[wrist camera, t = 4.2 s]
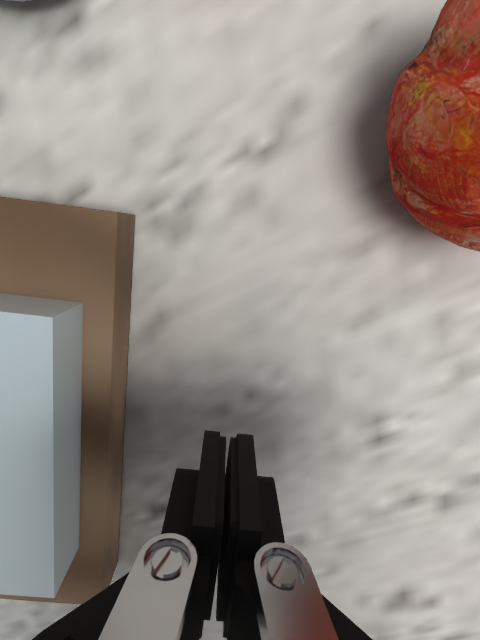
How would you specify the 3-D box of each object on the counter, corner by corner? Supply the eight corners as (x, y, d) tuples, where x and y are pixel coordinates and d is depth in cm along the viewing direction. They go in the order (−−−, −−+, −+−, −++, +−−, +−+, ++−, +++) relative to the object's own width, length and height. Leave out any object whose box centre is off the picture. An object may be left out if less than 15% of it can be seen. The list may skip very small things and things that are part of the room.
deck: (117, 562, 17) (102, 605, 15) (-56, 548, 16) (-96, 591, 14) (134, 215, 13) (117, 212, 11) (-94, 185, 12) (-155, 176, 10)
